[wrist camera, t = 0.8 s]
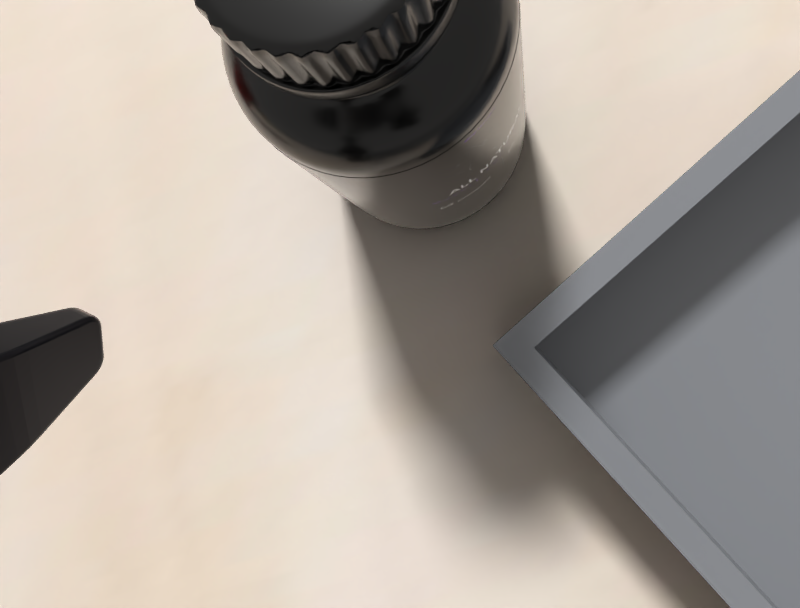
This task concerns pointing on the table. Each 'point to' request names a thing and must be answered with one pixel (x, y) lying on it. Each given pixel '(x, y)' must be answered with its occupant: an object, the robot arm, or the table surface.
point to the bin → (695, 358)
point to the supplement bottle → (384, 96)
